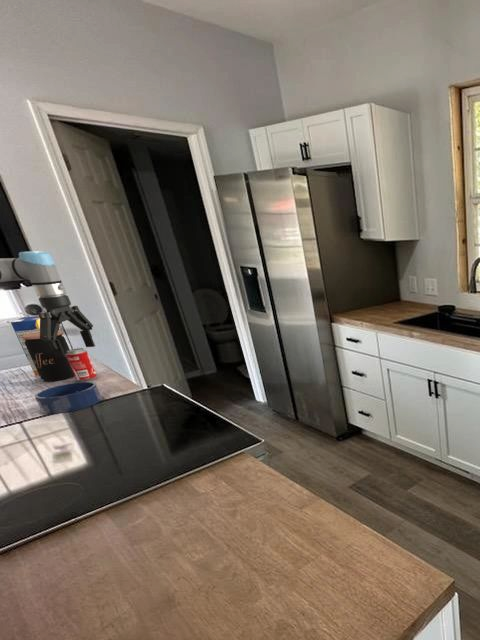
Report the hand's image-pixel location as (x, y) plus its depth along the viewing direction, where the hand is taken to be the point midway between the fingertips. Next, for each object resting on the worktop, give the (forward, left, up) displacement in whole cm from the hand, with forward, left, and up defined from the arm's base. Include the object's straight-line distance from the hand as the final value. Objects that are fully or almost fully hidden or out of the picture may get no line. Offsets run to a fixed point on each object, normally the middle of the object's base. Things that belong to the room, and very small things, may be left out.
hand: (76, 351), depth 157 cm
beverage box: (-23, +14, -11) cm, 29 cm away
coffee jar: (-12, +4, -11) cm, 17 cm away
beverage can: (0, 0, -11) cm, 11 cm away
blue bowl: (+15, -27, -11) cm, 33 cm away
